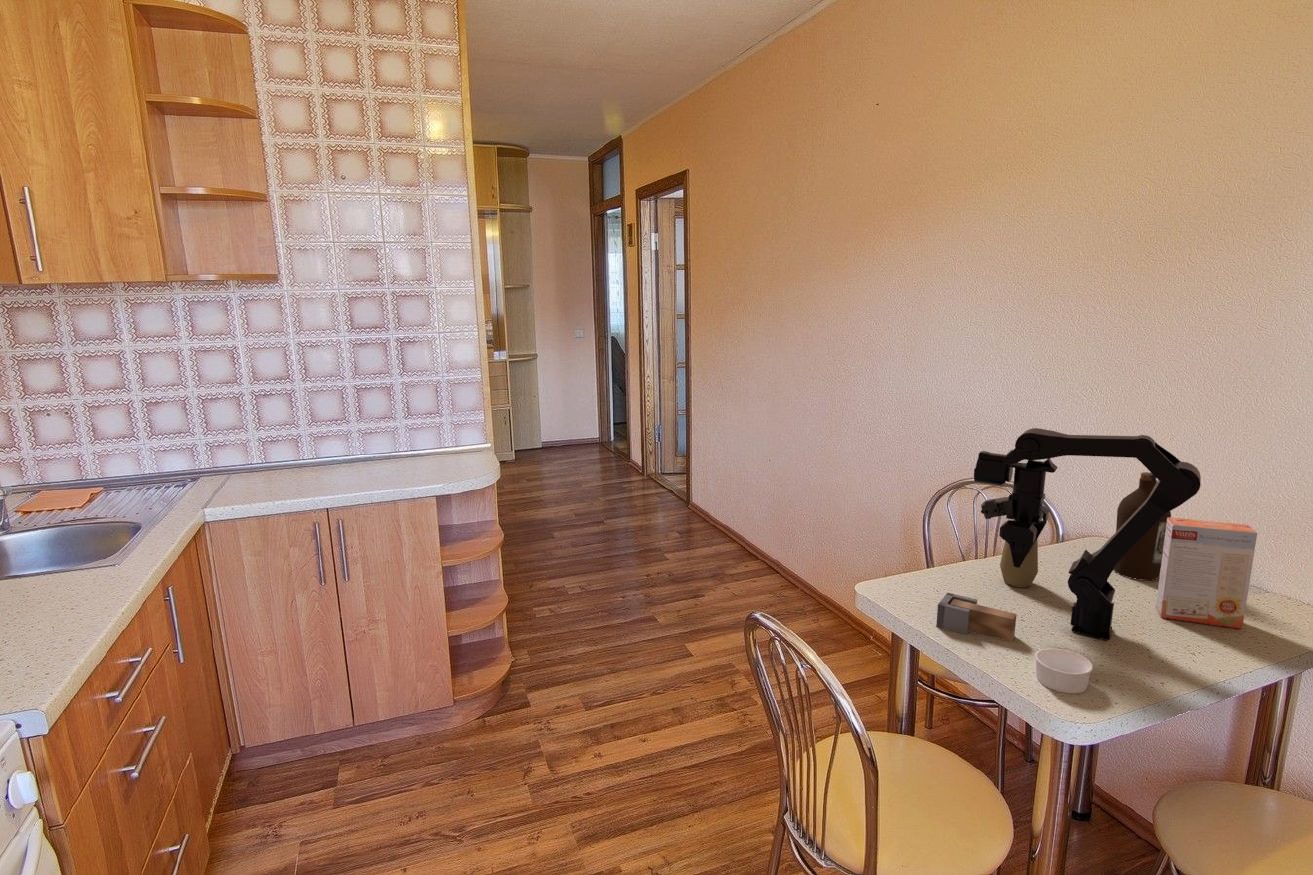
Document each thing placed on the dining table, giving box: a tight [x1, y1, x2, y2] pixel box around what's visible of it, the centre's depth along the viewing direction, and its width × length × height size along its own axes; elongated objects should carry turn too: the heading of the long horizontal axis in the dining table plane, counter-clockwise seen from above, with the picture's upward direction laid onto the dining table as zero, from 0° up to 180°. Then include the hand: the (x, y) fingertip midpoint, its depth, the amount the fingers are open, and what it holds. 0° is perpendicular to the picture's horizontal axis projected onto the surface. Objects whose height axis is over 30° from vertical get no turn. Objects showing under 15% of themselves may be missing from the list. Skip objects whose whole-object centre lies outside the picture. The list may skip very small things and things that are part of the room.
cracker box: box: [1155, 517, 1258, 630], centre depth 146 cm, size 14×6×21 cm, turn 65°
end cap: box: [935, 592, 978, 635], centre depth 147 cm, size 6×7×5 cm
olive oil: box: [1113, 471, 1172, 581], centre depth 169 cm, size 11×11×25 cm
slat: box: [950, 599, 1017, 643], centre depth 144 cm, size 12×3×5 cm, turn 53°
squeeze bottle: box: [999, 538, 1039, 588], centre depth 165 cm, size 8×8×18 cm
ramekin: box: [1034, 647, 1094, 695], centre depth 125 cm, size 9×9×4 cm
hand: (1021, 560), depth 150 cm, fingers open, 9 cm apart
